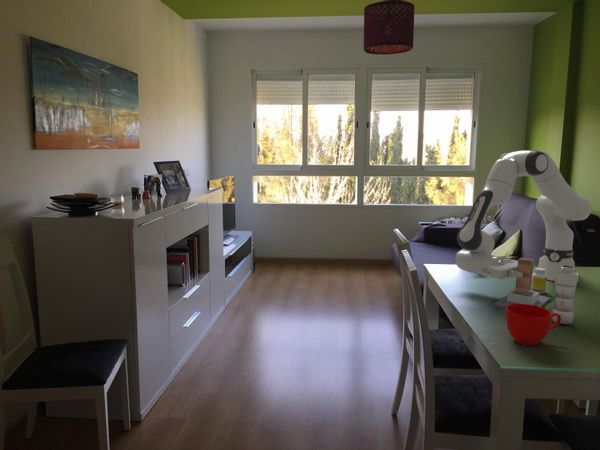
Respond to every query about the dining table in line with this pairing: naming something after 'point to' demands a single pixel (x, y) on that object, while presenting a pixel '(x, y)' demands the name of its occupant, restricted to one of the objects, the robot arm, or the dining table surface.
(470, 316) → the dining table surface
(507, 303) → the collar board
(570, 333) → the dining table surface
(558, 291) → the plastic bottle
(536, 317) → the ceramic cup
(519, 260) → the terracotta peg
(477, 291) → the dining table surface
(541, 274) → the supplement bottle
